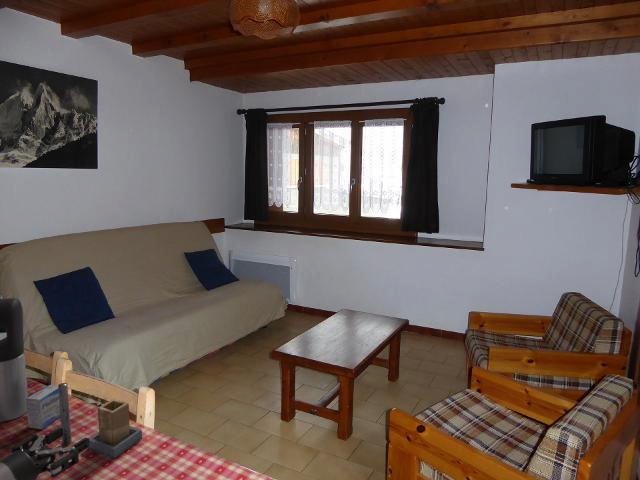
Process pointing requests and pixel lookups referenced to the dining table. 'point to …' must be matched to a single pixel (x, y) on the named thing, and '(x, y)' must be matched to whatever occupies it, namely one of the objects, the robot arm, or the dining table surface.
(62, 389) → the post
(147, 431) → the dining table surface
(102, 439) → the sleeve
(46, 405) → the medicine box
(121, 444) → the tray
